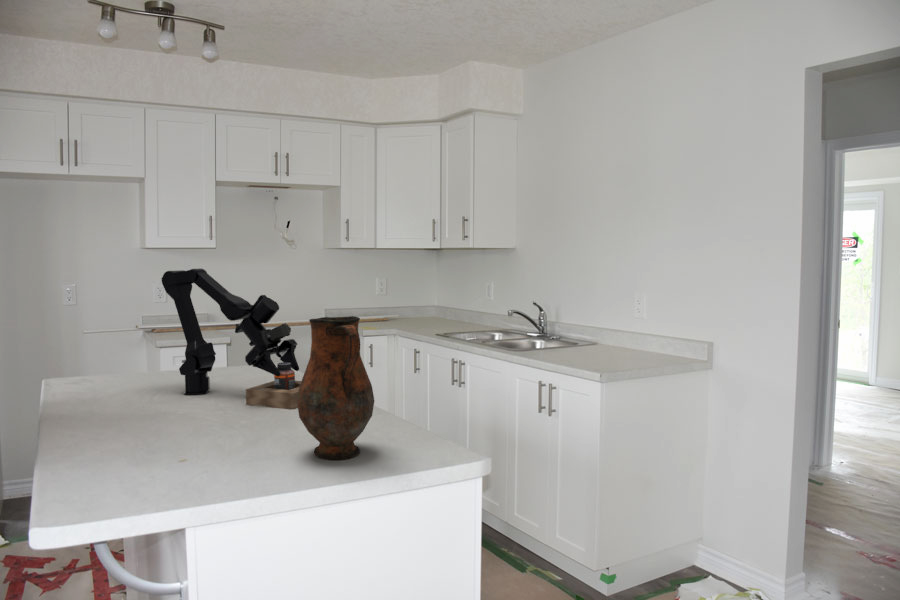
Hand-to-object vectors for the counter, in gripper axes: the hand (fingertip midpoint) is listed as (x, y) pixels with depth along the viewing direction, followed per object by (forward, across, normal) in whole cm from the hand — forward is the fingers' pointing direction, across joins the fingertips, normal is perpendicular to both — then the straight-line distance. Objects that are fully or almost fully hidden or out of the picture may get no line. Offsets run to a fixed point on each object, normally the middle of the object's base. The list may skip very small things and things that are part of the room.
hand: (289, 372), depth 198 cm
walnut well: (+5, 0, +7) cm, 9 cm away
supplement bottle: (+5, 0, +7) cm, 9 cm away
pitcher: (+35, -40, -23) cm, 58 cm away
